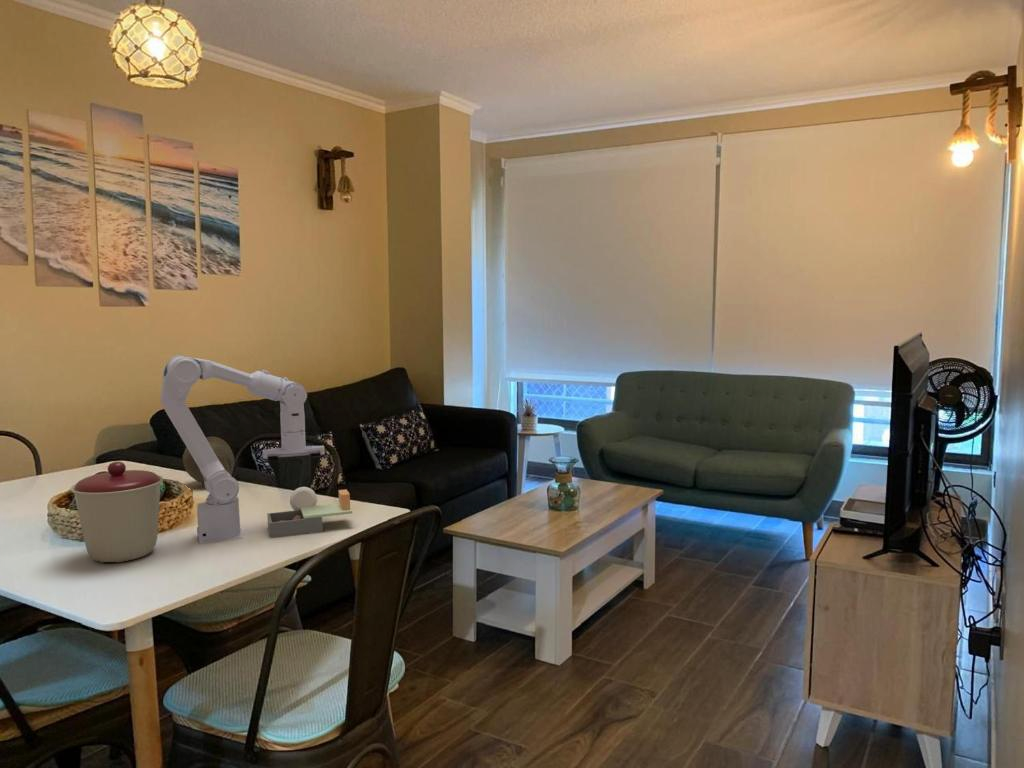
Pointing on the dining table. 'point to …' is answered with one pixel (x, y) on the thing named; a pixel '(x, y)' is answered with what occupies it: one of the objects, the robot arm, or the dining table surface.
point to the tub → (292, 524)
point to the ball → (298, 517)
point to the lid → (329, 507)
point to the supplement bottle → (302, 498)
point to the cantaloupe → (221, 452)
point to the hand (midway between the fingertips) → (295, 485)
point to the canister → (119, 513)
